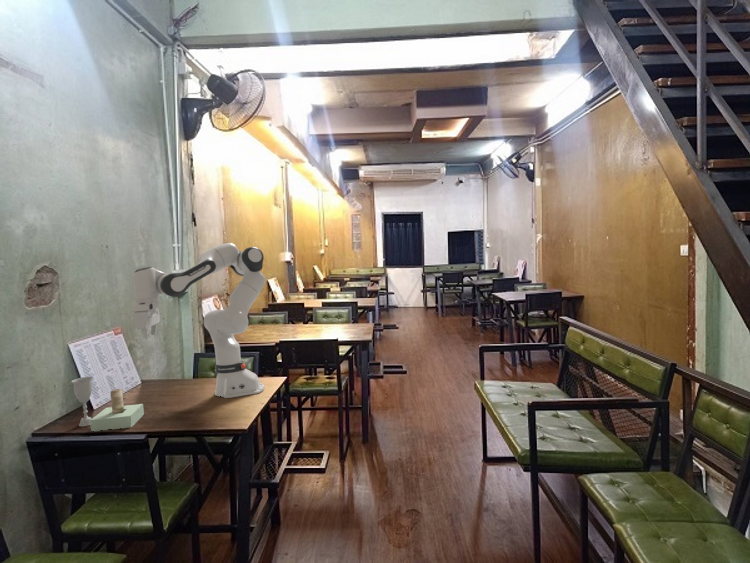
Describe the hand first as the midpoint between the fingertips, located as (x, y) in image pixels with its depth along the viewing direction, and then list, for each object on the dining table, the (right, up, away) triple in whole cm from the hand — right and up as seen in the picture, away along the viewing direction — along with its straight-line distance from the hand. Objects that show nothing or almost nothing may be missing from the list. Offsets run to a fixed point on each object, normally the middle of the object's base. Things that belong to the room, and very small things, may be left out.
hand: (150, 336), depth 186 cm
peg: (-4, -32, -15) cm, 36 cm away
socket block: (-4, -32, -15) cm, 36 cm away
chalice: (-18, -33, -15) cm, 40 cm away
